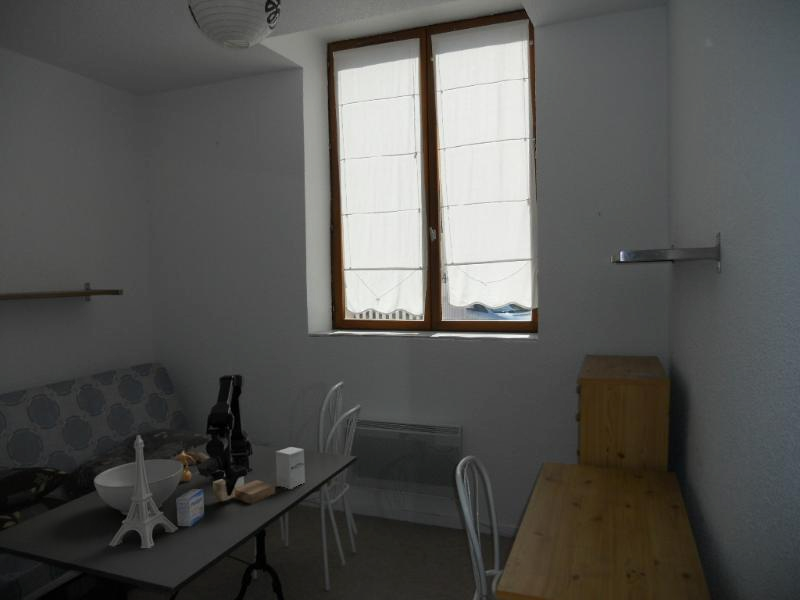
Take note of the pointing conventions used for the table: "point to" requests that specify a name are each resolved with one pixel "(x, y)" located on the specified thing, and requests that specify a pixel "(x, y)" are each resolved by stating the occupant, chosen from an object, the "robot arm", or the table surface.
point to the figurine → (186, 474)
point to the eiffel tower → (142, 506)
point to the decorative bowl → (121, 482)
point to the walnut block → (254, 491)
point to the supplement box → (290, 467)
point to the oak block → (221, 490)
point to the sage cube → (239, 481)
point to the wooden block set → (199, 457)
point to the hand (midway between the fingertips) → (224, 494)
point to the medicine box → (190, 507)
